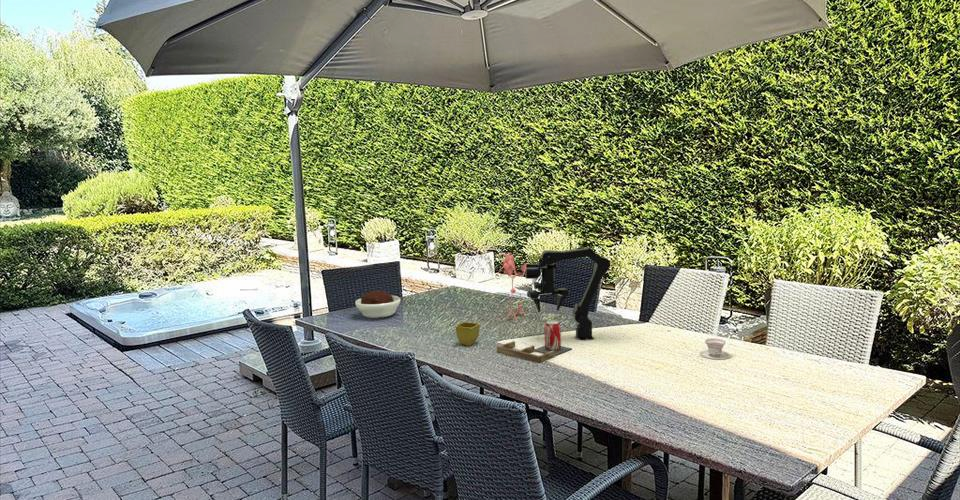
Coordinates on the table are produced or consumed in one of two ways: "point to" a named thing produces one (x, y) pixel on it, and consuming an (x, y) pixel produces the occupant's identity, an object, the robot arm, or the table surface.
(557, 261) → the robot arm
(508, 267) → the figurine
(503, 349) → the shelf lanes
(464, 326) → the flower pot
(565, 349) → the rubber mat
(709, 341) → the teacup
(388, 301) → the white dessert bowl
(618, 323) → the table surface
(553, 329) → the soda can
